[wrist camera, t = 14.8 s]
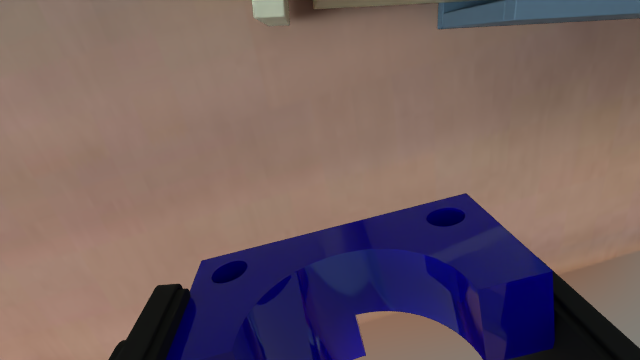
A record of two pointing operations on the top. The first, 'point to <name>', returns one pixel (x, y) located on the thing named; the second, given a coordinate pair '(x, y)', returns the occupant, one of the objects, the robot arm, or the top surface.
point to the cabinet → (532, 12)
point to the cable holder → (371, 288)
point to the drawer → (320, 7)
